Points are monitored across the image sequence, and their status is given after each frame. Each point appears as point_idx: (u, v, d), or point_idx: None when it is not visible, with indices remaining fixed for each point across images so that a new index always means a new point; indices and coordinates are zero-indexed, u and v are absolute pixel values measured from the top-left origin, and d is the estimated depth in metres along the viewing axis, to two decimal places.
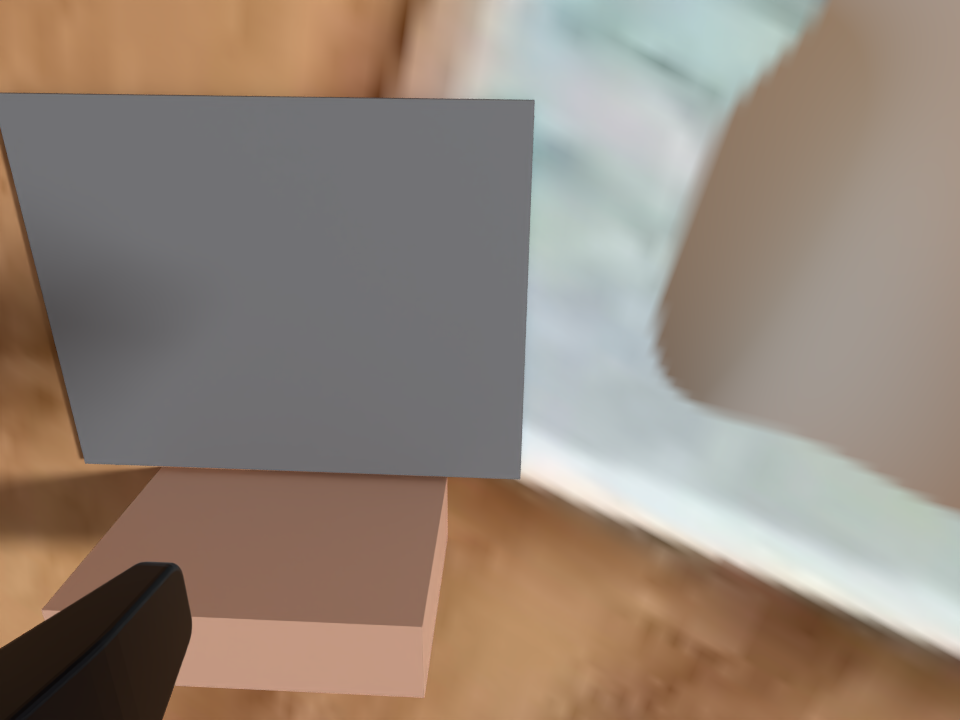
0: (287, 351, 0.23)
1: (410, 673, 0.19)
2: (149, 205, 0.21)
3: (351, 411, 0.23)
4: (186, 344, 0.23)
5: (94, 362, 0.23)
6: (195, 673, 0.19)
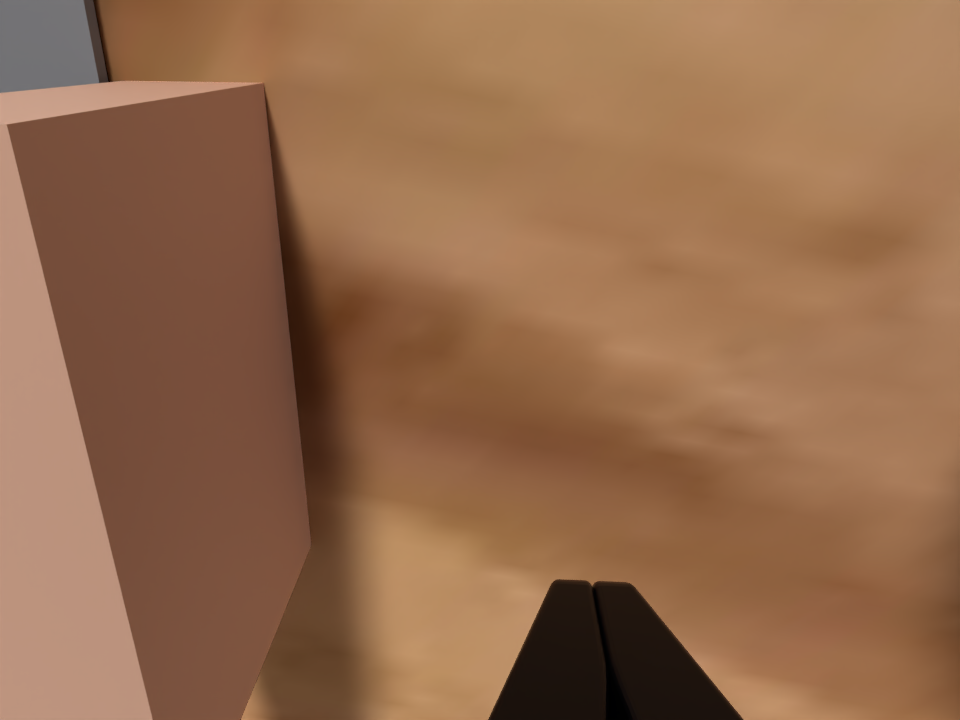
0: None
1: None
2: None
3: None
4: None
5: None
6: (97, 656, 0.09)
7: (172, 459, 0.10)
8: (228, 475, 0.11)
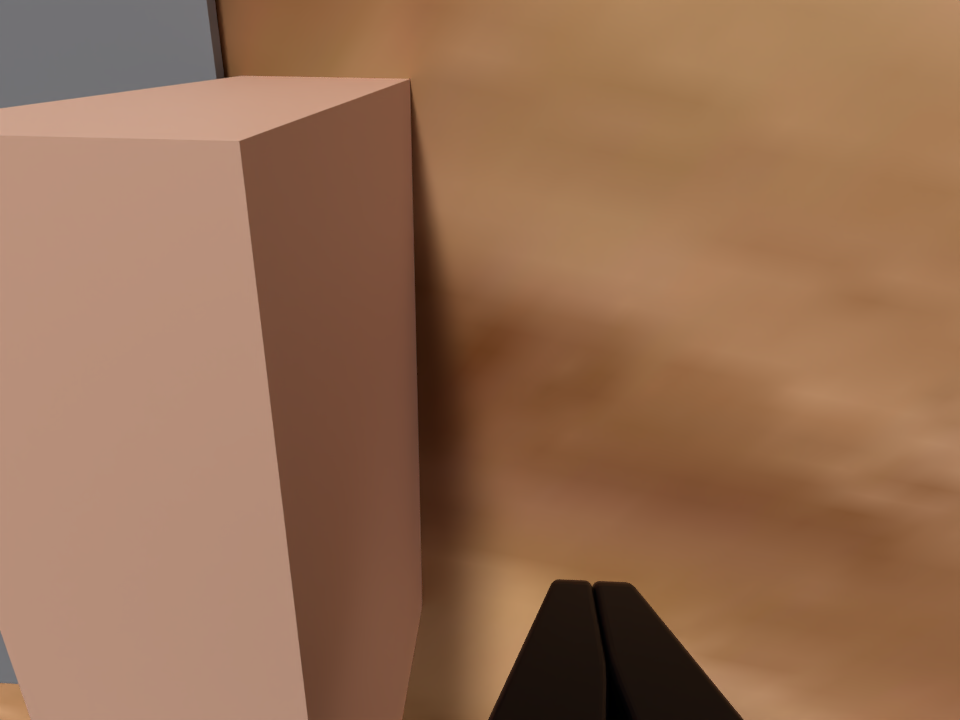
0: None
1: (107, 199, 0.04)
2: None
3: None
4: None
5: None
6: None
7: (347, 558, 0.07)
8: (380, 556, 0.09)
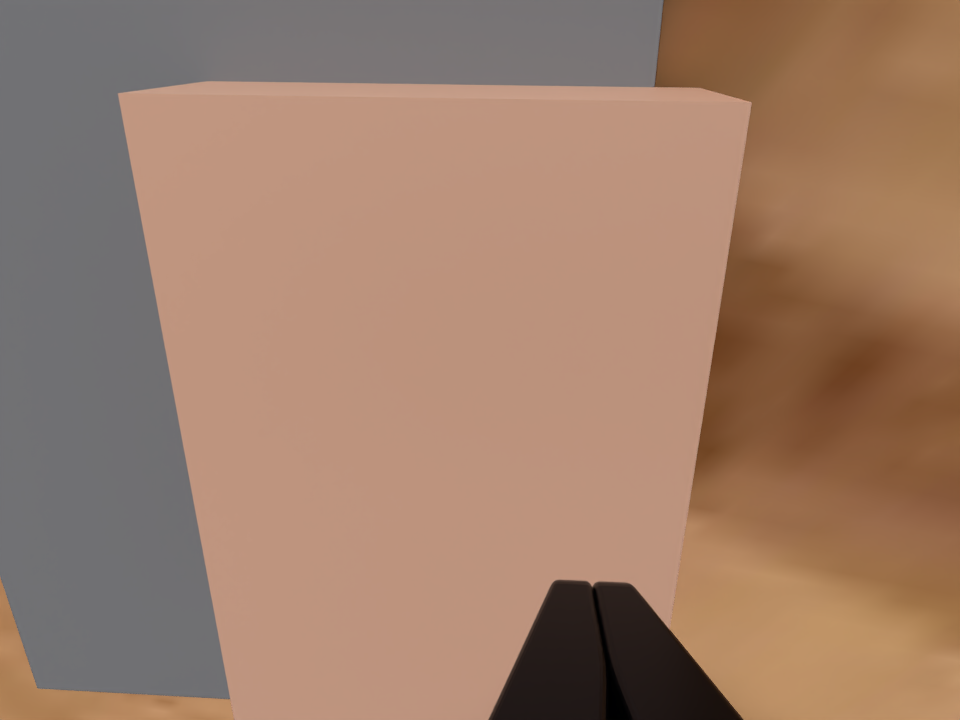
0: None
1: None
2: (139, 551, 0.14)
3: None
4: None
5: None
6: None
7: (298, 439, 0.10)
8: (417, 521, 0.10)
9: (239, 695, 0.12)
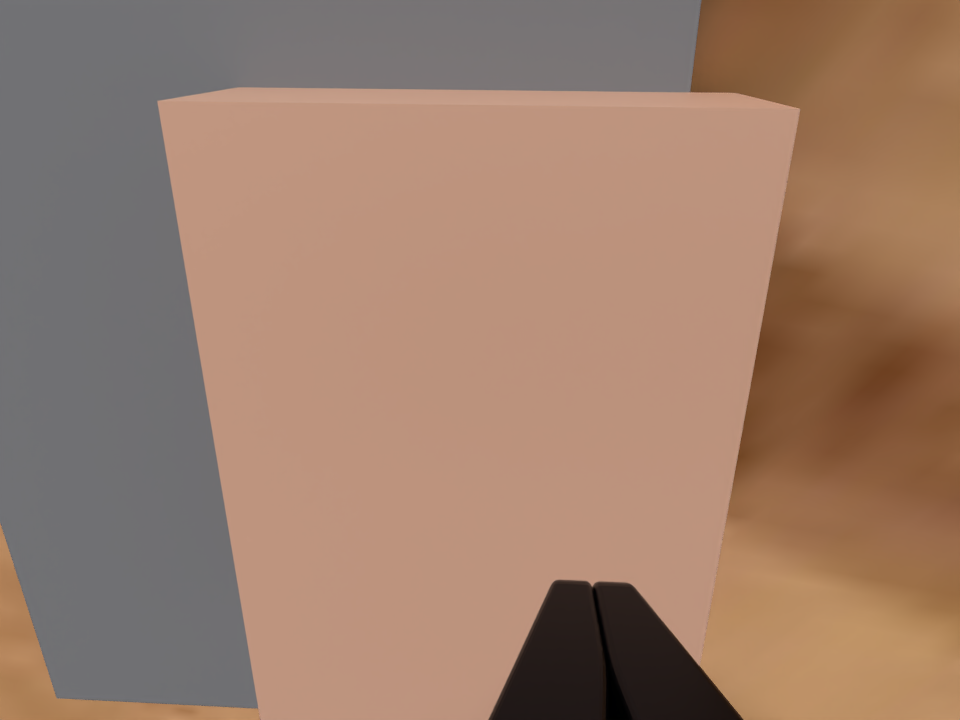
0: None
1: None
2: (162, 560, 0.14)
3: None
4: None
5: None
6: None
7: (334, 448, 0.10)
8: (451, 530, 0.10)
9: (268, 706, 0.12)
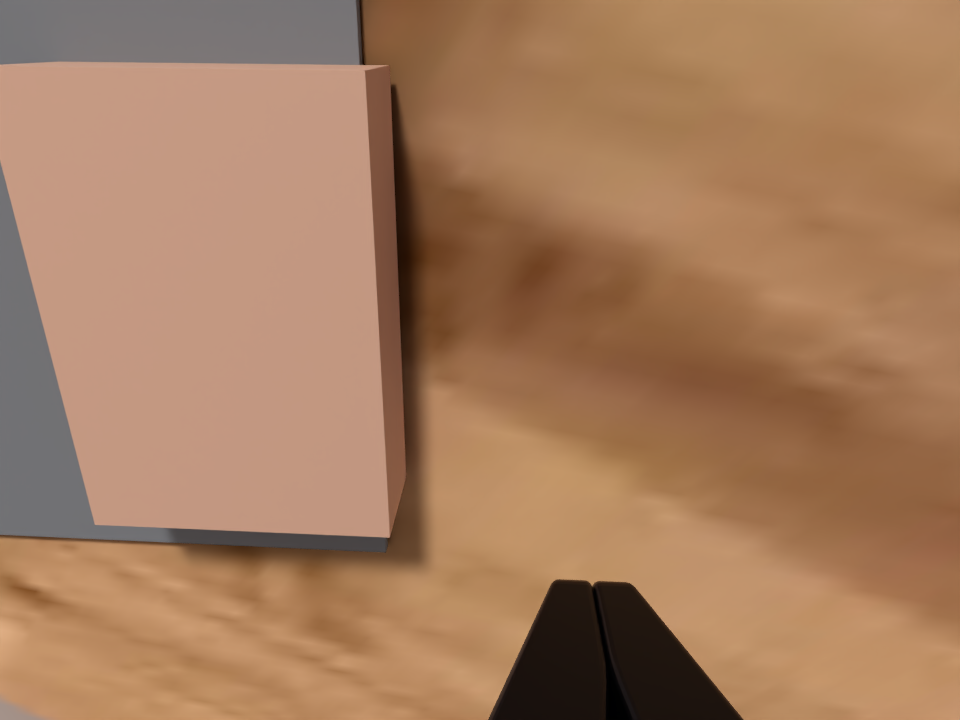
0: None
1: None
2: (38, 416, 0.19)
3: None
4: None
5: None
6: None
7: (115, 302, 0.14)
8: (201, 362, 0.15)
9: (96, 502, 0.17)
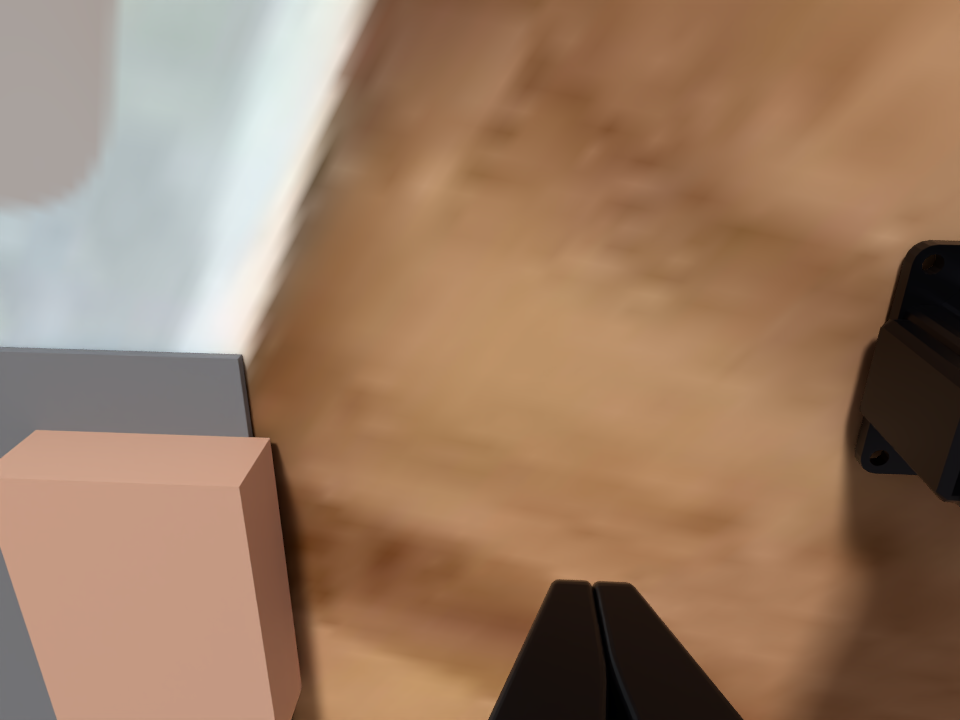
0: None
1: None
2: (23, 644, 0.25)
3: None
4: None
5: None
6: None
7: (75, 609, 0.21)
8: (137, 645, 0.21)
9: None
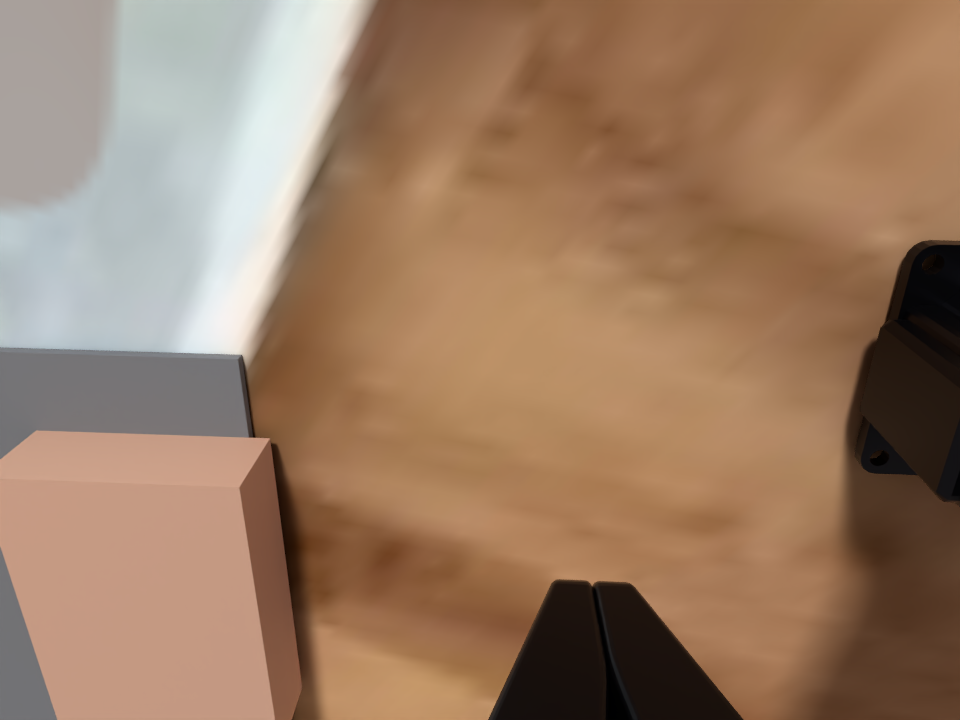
0: None
1: None
2: (23, 644, 0.25)
3: None
4: None
5: None
6: None
7: (75, 609, 0.21)
8: (137, 645, 0.21)
9: None
